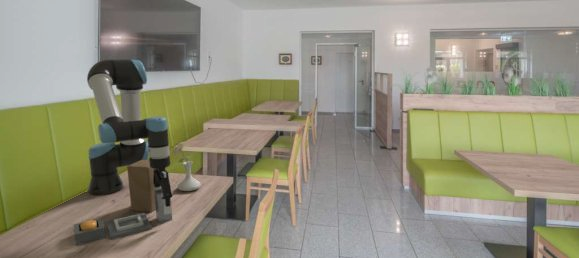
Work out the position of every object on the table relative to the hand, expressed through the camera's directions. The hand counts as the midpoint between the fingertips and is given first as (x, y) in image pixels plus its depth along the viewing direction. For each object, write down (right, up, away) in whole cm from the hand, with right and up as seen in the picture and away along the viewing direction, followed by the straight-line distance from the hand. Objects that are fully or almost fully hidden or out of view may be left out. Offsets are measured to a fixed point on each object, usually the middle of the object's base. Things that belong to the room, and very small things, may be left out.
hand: (163, 207), depth 134 cm
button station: (-22, -7, -12) cm, 26 cm away
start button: (-22, -6, -13) cm, 26 cm away
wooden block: (-11, -3, +13) cm, 17 cm away
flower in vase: (0, +1, +33) cm, 33 cm away
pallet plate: (-11, -6, -5) cm, 14 cm away
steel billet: (0, -5, +1) cm, 5 cm away
